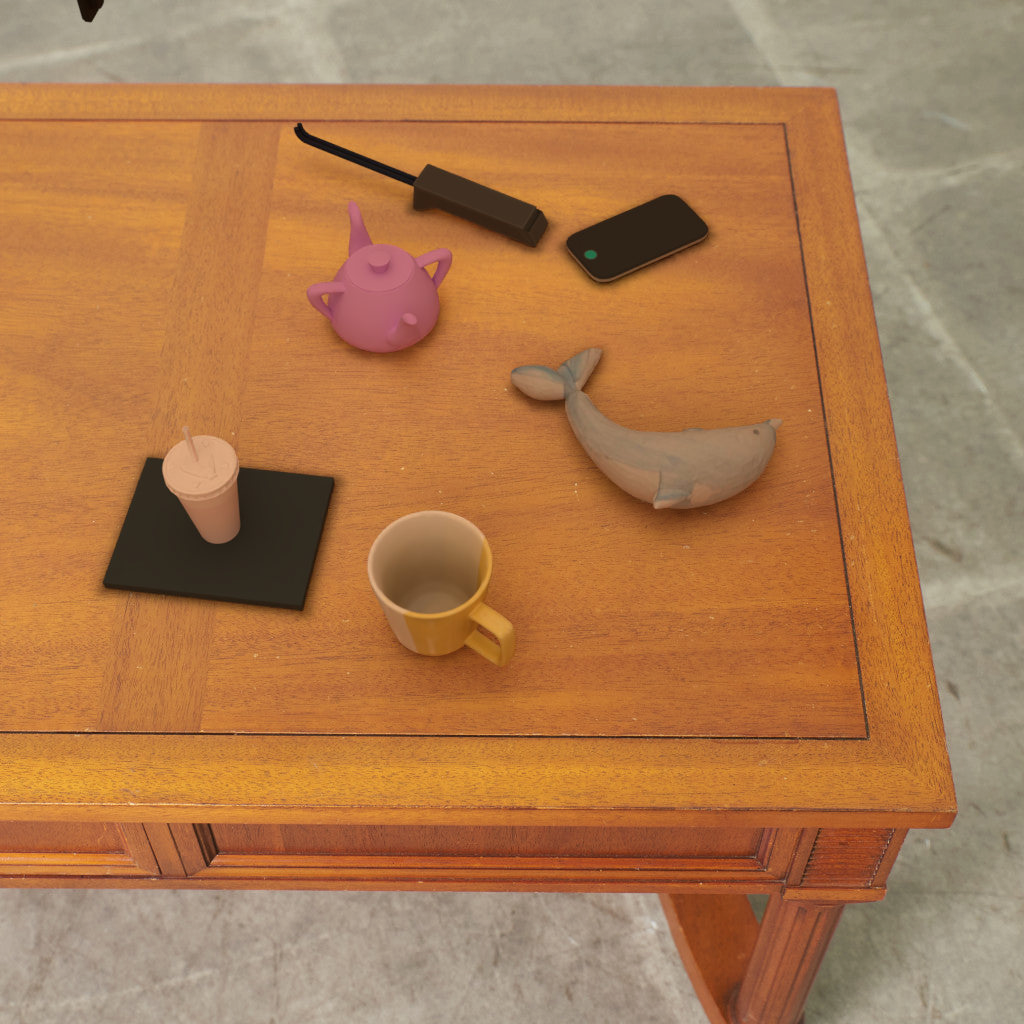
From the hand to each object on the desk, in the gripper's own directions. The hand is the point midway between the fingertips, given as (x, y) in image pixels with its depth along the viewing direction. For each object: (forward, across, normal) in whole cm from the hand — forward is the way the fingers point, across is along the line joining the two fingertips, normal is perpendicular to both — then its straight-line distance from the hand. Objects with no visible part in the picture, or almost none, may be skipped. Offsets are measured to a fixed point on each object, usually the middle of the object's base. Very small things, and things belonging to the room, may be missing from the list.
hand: (40, 6), depth 112 cm
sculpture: (+29, +59, -14) cm, 67 cm away
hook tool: (+30, +30, +14) cm, 45 cm away
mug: (+30, +44, -40) cm, 66 cm away
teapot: (+30, +30, -5) cm, 43 cm away
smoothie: (+29, +21, -33) cm, 49 cm away
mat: (+30, +21, -33) cm, 49 cm away
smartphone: (+29, +55, +11) cm, 63 cm away
